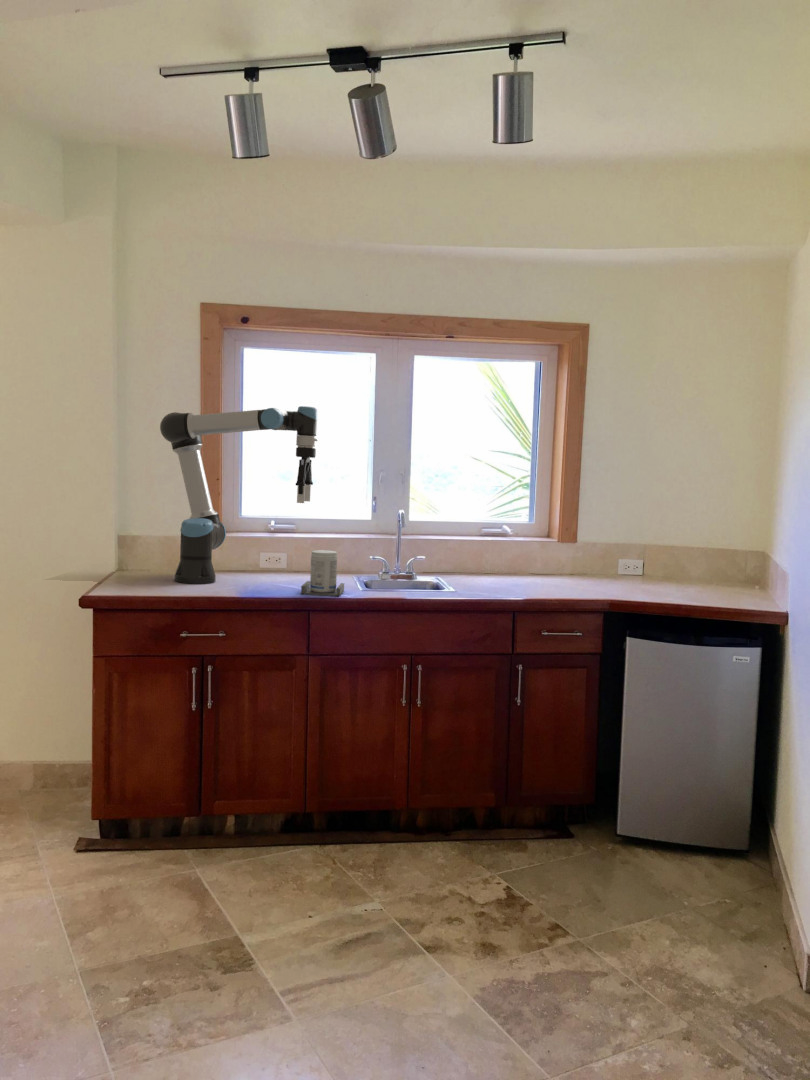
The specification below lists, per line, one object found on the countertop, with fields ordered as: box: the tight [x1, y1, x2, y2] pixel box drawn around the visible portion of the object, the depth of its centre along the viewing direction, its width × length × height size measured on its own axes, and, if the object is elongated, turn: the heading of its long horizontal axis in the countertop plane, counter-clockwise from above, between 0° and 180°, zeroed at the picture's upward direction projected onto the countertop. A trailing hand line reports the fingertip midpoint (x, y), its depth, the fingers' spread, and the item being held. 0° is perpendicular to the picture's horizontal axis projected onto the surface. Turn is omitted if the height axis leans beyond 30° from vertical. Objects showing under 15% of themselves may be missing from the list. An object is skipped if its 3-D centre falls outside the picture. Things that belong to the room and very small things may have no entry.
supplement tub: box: [309, 549, 338, 593], centre depth 330 cm, size 10×10×15 cm
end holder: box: [300, 580, 345, 598], centre depth 330 cm, size 14×13×3 cm
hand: (303, 502), depth 348 cm, fingers open, 13 cm apart
